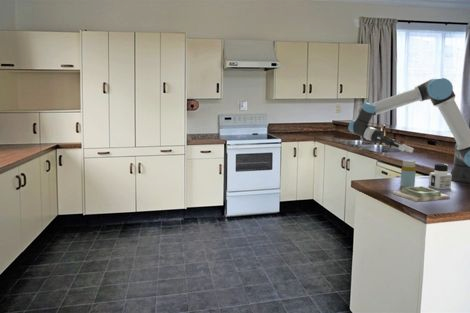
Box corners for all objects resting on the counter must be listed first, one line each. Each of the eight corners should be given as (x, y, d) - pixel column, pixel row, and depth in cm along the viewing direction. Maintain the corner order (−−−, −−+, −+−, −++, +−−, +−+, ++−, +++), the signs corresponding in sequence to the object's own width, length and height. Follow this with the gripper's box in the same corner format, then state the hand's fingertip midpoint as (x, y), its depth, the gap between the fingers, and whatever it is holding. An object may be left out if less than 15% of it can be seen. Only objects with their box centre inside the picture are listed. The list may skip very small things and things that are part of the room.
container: (439, 189, 201) (441, 165, 199) (428, 186, 209) (430, 163, 206) (450, 188, 203) (453, 164, 201) (439, 185, 211) (441, 162, 209)
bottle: (410, 186, 208) (412, 159, 206) (416, 189, 201) (418, 161, 199) (397, 186, 208) (399, 159, 205) (403, 189, 201) (405, 161, 199)
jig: (424, 190, 198) (424, 184, 198) (449, 198, 183) (450, 192, 182) (392, 193, 192) (393, 187, 192) (416, 201, 177) (416, 195, 177)
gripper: (379, 142, 227) (412, 157, 214) (362, 139, 208) (398, 155, 195) (384, 131, 225) (419, 145, 212) (368, 126, 206) (404, 141, 193)
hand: (409, 150), depth 203 cm, fingers open, 13 cm apart
